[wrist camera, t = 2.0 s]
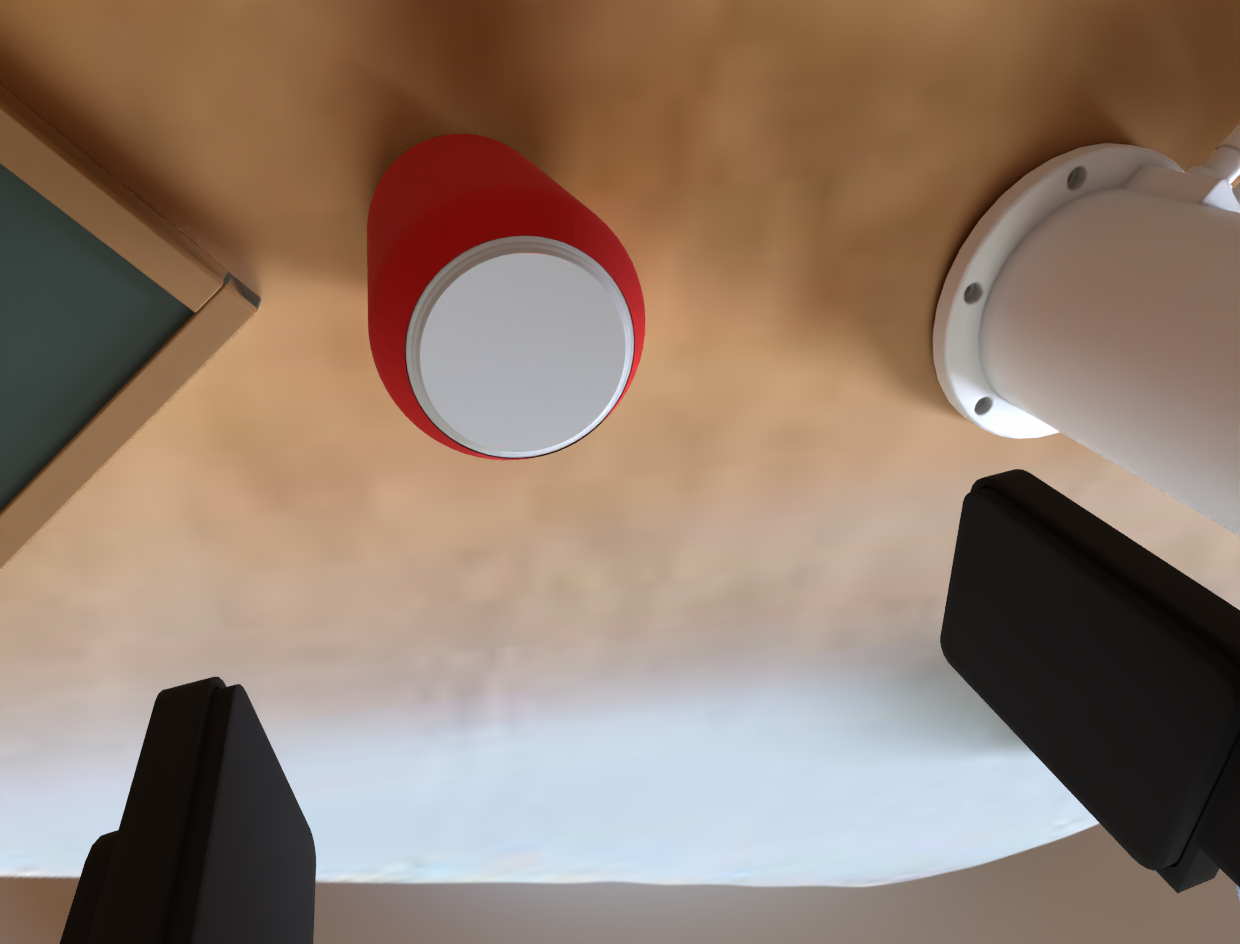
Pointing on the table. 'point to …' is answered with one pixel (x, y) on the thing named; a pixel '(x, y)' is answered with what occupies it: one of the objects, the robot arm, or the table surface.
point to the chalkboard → (88, 319)
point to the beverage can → (497, 301)
